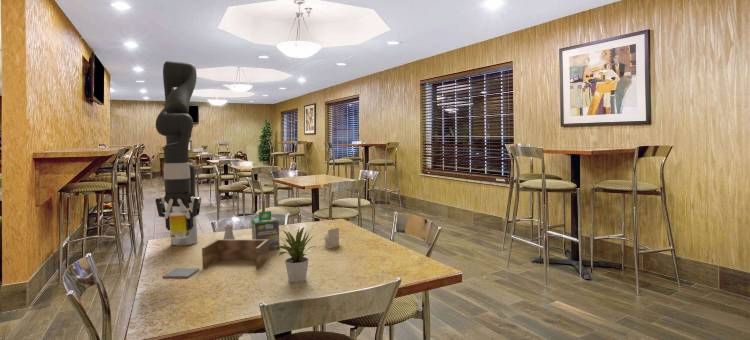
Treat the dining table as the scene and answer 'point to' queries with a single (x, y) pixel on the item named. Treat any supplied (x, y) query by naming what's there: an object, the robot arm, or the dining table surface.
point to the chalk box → (266, 229)
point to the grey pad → (181, 273)
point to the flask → (228, 233)
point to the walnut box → (236, 251)
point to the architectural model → (332, 238)
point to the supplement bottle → (178, 223)
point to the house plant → (296, 256)
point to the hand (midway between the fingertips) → (179, 229)
